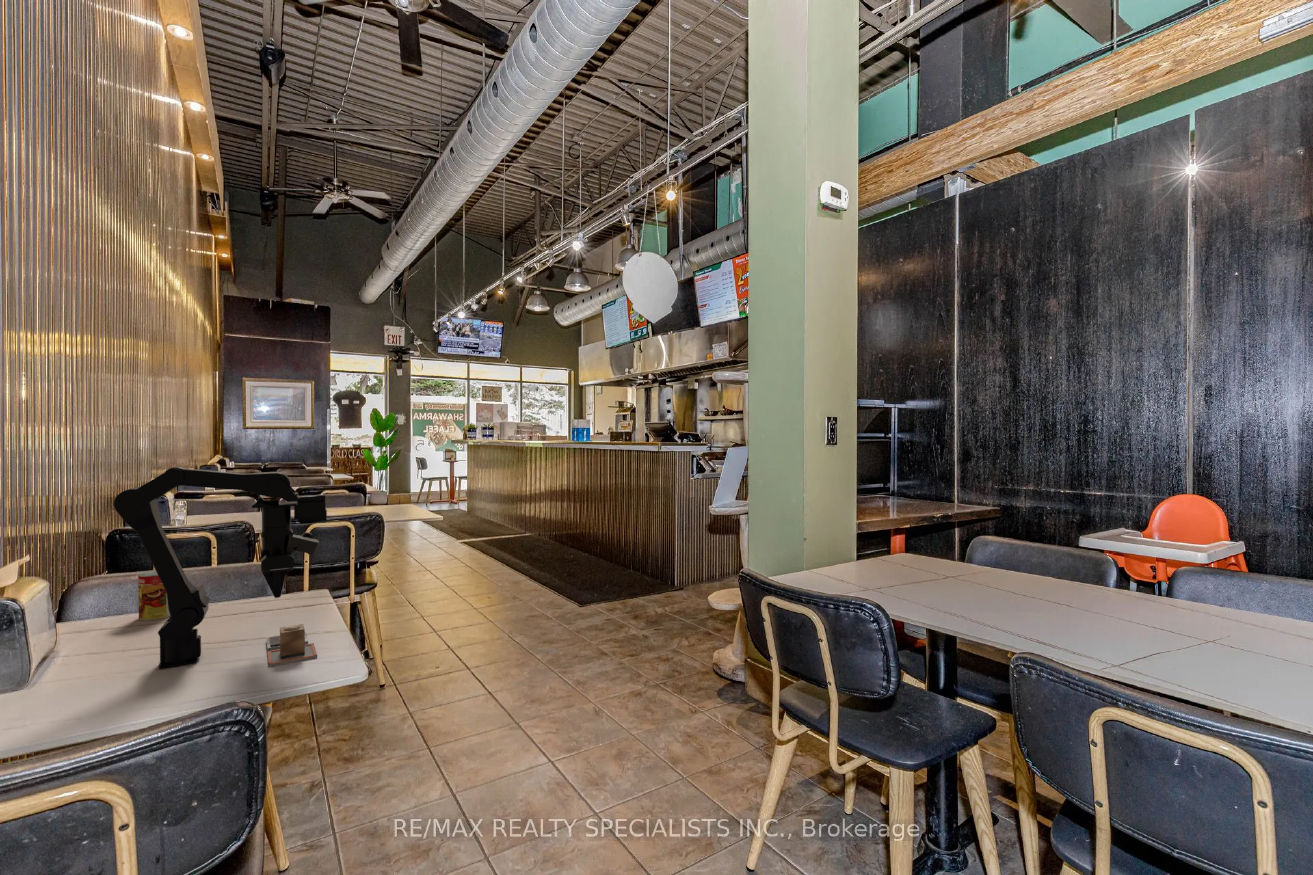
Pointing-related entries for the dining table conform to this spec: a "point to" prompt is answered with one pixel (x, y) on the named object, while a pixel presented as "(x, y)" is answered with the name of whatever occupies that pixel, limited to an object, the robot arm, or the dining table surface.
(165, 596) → the canned food
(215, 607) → the dining table surface
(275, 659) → the tile
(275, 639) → the pad
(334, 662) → the dining table surface
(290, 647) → the stamp
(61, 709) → the dining table surface
